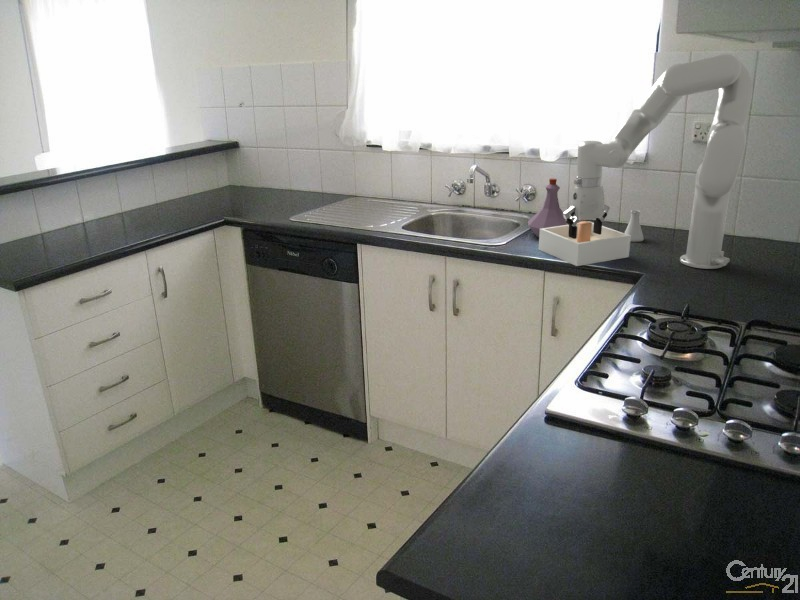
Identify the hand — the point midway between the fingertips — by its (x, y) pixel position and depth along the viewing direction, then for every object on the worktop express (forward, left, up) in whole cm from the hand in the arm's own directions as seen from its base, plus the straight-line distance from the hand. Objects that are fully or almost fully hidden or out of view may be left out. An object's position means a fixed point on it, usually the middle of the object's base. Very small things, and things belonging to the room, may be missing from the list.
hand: (584, 235), depth 215 cm
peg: (0, 0, -6) cm, 6 cm away
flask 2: (+5, -25, -6) cm, 26 cm away
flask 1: (+22, -3, -6) cm, 23 cm away
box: (0, 0, -6) cm, 6 cm away
